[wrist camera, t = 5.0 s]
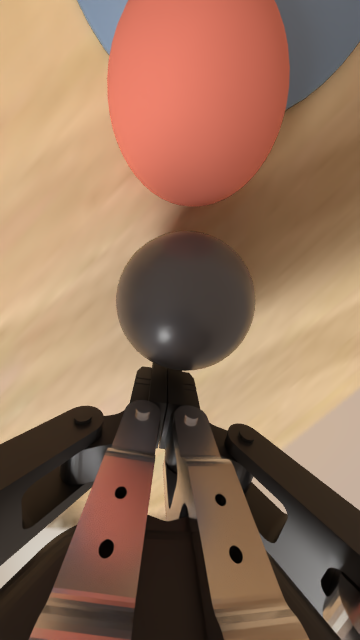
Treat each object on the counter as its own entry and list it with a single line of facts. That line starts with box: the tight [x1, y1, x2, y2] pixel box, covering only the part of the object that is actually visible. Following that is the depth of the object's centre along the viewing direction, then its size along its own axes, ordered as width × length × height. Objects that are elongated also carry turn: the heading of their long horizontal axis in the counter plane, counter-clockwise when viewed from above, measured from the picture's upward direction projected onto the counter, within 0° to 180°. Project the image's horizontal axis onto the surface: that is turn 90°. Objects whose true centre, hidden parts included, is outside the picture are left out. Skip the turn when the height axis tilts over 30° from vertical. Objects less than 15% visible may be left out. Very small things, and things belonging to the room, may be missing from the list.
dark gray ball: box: [116, 231, 255, 371], centre depth 10 cm, size 6×6×6 cm
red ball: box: [107, 0, 290, 207], centre depth 8 cm, size 6×6×6 cm
